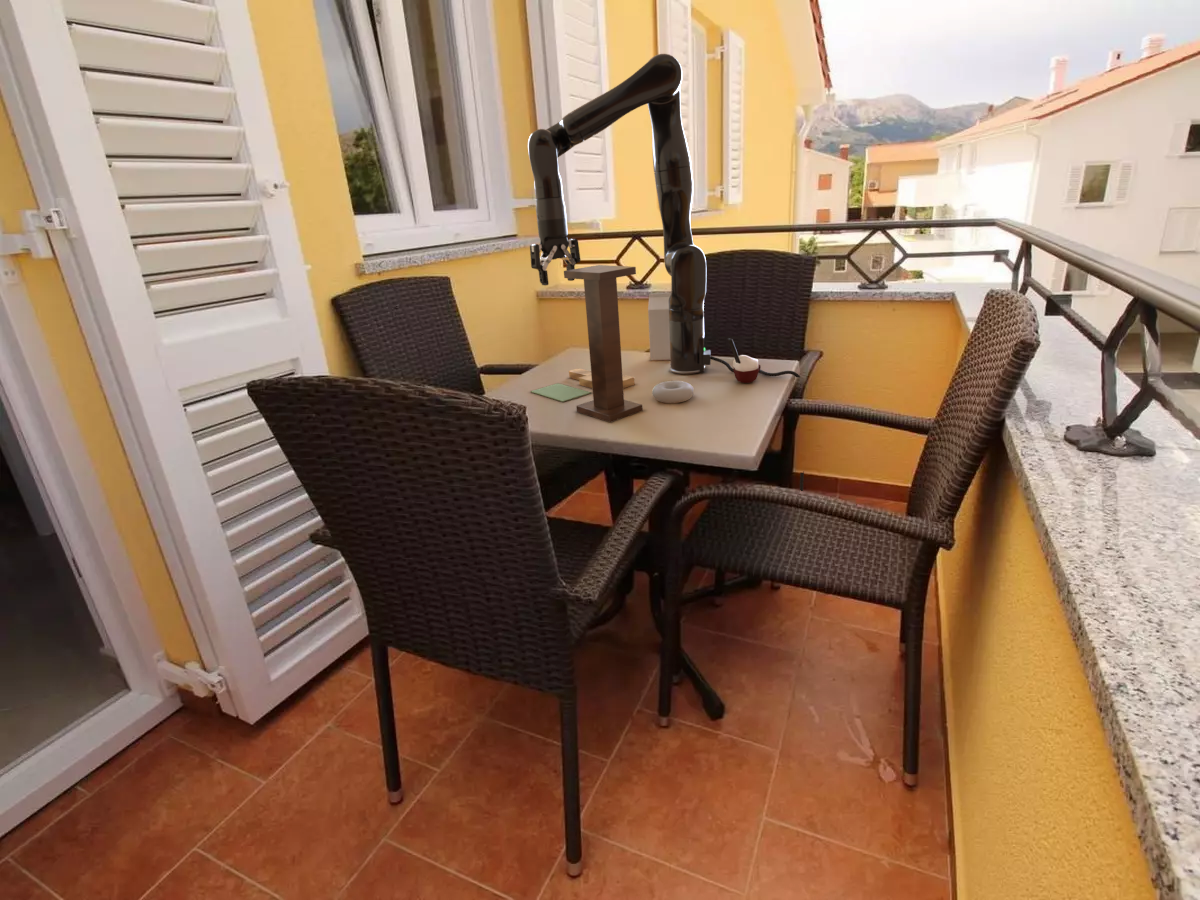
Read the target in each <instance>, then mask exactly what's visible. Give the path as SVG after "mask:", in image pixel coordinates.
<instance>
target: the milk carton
mask: <svg viewBox="0 0 1200 900" xmlns="http://www.w3.org/2000/svg"><path fill="white" fill-rule="evenodd" d="M670 295H671V292H654V293H648V306H647V315H648V316H647V317H648V338H649V340H648V341H649V360H650V361H670V333H669V297H670Z"/></svg>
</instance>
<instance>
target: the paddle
mask: <svg viewBox="0 0 1200 900" xmlns="http://www.w3.org/2000/svg"><path fill="white" fill-rule="evenodd" d="M568 375H569V376H568V377H569V379H573V380H577V381H578V384H579V386H582V387H586V388H588V389H593V388H592V376H591V370H587V369H583V368H580V367H578V368H575V369H571V370H568ZM622 377H623V389H626V388H628V387H632V386H634V385H635V377H634V376H630V375H626V374H622Z"/></svg>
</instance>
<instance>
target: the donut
mask: <svg viewBox="0 0 1200 900" xmlns="http://www.w3.org/2000/svg"><path fill="white" fill-rule="evenodd" d="M694 392H695V389H694V386H692V385H691V383H689V382H686V381H682V380H668V381H667V380H666V381H661V382H659V383H657V384H656V385H654V386H653V388H652V391H651V394H652V397H653V399H654V400H655V401H656V402H657V401H658V402H660V403H664V404H678V403H683V402H686V401H688V400H690V399H691V398H692V397H693V396H694Z"/></svg>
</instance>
